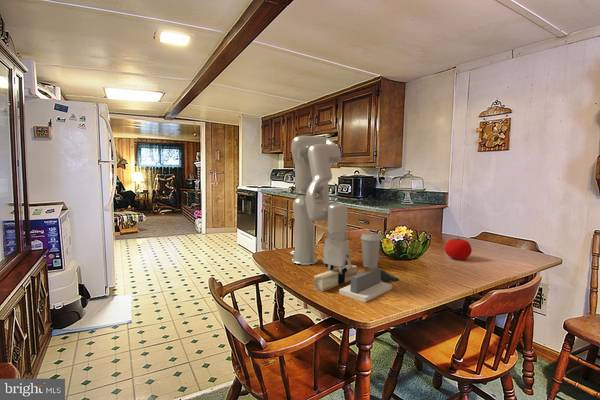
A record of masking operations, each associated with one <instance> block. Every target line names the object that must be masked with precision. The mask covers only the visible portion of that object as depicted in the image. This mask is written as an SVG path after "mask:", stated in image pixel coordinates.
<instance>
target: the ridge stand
mask: <svg viewBox="0 0 600 400" xmlns="http://www.w3.org/2000/svg"><path fill="white" fill-rule="evenodd" d="M365 270H366V271H365ZM365 270H364V271H362V272H359V273H357V274H356V275H354V276H351V280H350V284H349V285H346V286H344V287H342V288H339V289H338V294H339V295H342V296H346V297H348V298H352V299H355V300H357V301H359V302H362V303H367V302H369V301H370V300H373V299H375V298H377V297H379V296H380V295H383V294H384V293H386V292H389V291H390V290H392V289H393V284H391V283H389V282H387V283H384V282H381V270H382V268H380V267H378V266H377V267H374V268H368V269H365Z"/></svg>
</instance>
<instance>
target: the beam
mask: <svg viewBox="0 0 600 400" xmlns="http://www.w3.org/2000/svg"><path fill="white" fill-rule="evenodd" d="M351 265H352V268H351V269H350V270H348V271H347V272H346V273H345V282H344V283H347V282H351V276H354V275H356V274H358V265H355V264H351ZM346 267H347V265H346ZM342 270H343V267H342ZM339 274H340V272H339V267H336V268H334V269H333V270H330V271H328V270H327V271H325V272H323V273H319V274H315V275H314V276H313V285H314V286H313V289H314V290H316V291H319V292H321V293H323V292H325V291H328V290H330V289H332V288H335V287H338V286H340V285H343V284H344V283H342V284H338V275H339Z"/></svg>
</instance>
